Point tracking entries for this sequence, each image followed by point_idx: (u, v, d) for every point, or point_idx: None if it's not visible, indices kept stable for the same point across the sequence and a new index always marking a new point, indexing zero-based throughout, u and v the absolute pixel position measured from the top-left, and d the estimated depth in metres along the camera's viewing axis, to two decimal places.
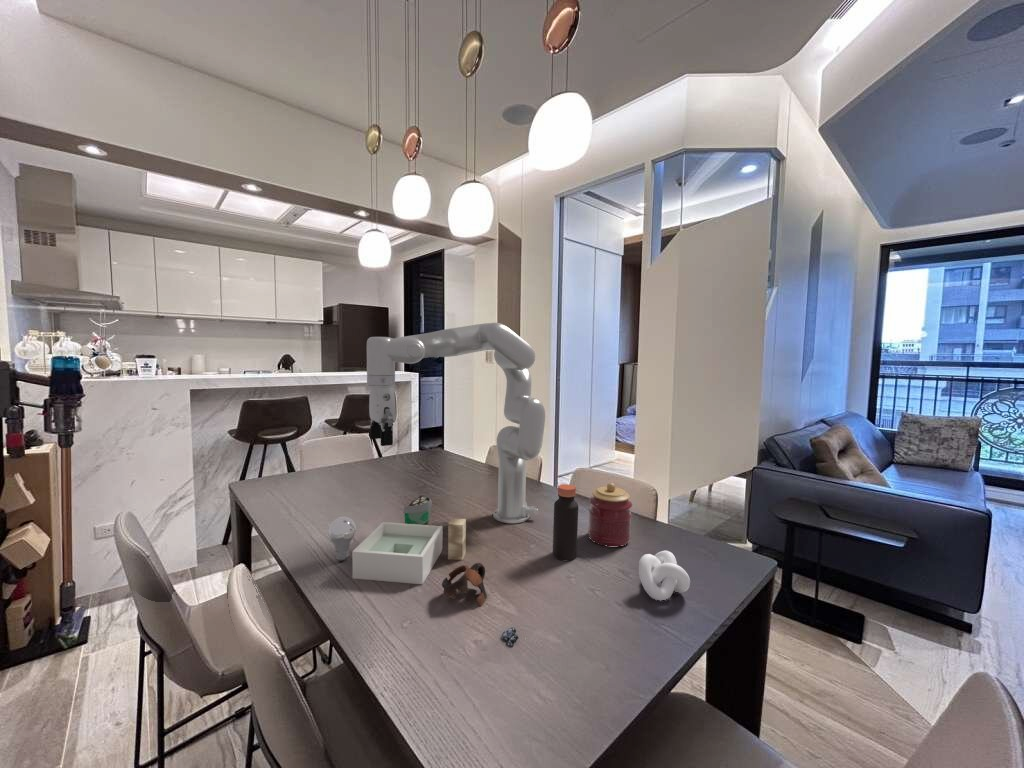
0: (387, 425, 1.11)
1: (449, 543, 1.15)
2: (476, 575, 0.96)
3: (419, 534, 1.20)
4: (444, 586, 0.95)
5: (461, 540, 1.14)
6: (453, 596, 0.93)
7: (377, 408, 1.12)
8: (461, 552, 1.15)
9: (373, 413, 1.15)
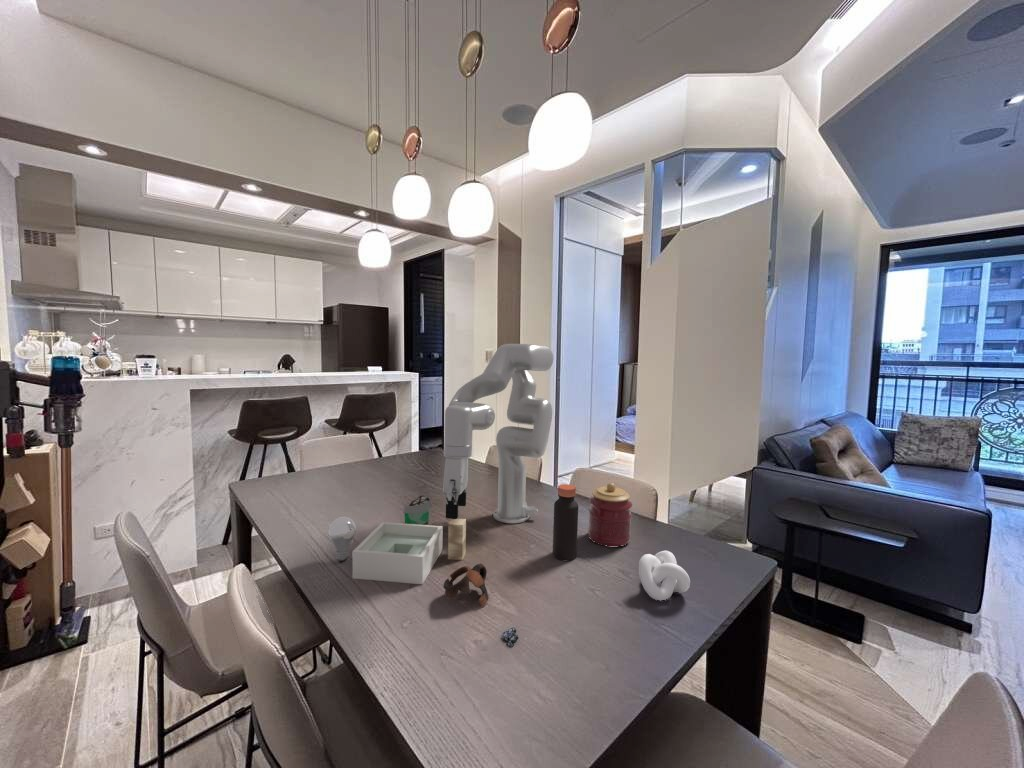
0: None
1: (449, 543, 1.15)
2: (478, 576, 0.96)
3: (419, 534, 1.20)
4: (446, 587, 0.94)
5: (461, 540, 1.14)
6: (455, 597, 0.92)
7: None
8: (461, 552, 1.15)
9: (465, 482, 1.15)
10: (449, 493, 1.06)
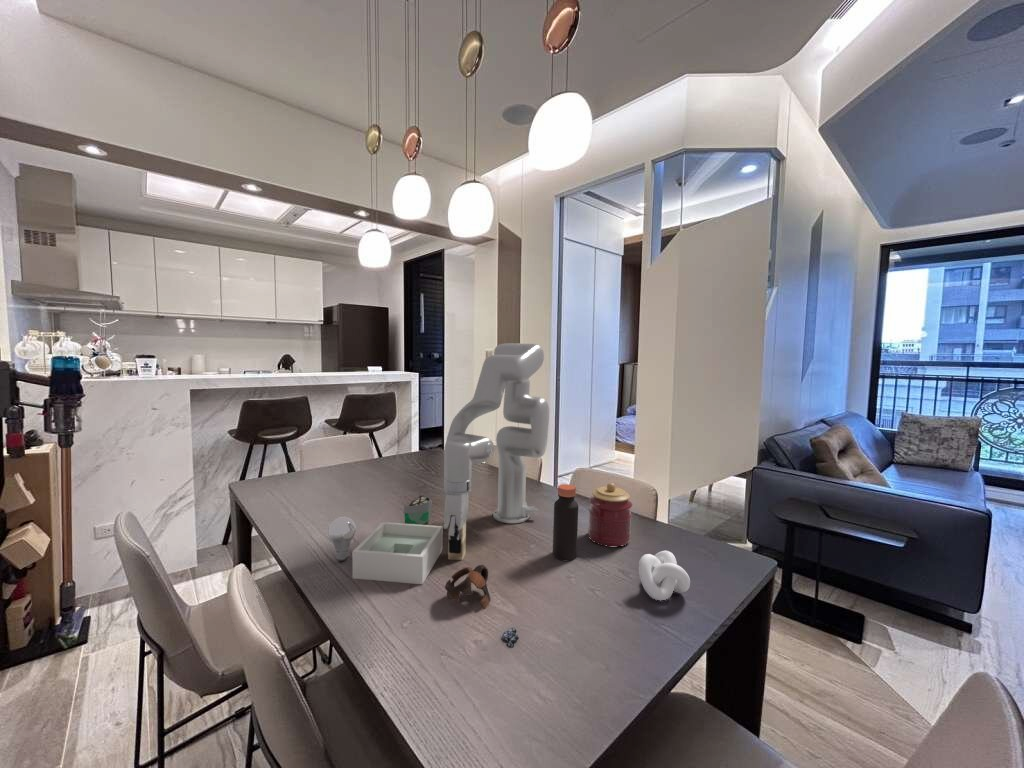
0: None
1: None
2: (480, 577, 0.96)
3: (419, 534, 1.20)
4: (447, 589, 0.94)
5: (461, 540, 1.14)
6: (457, 599, 0.92)
7: None
8: (461, 552, 1.15)
9: (466, 515, 1.16)
10: (451, 535, 1.09)
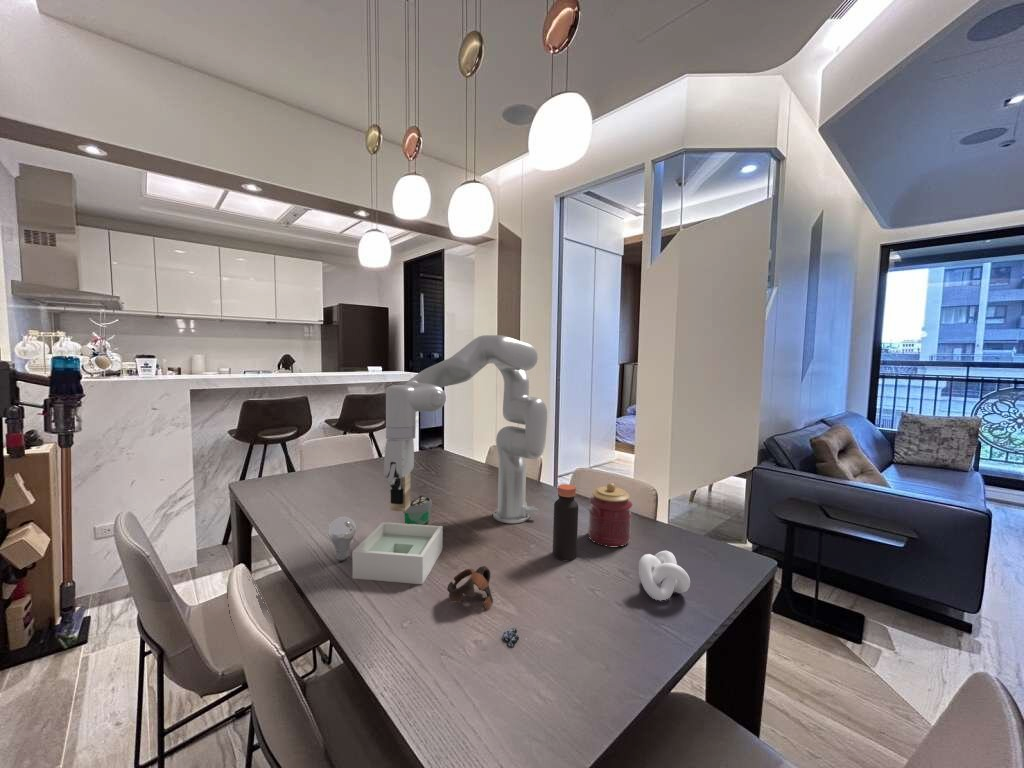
0: None
1: None
2: (482, 579, 0.95)
3: (419, 534, 1.20)
4: (450, 590, 0.93)
5: (403, 490, 1.08)
6: (459, 601, 0.91)
7: (413, 455, 1.14)
8: (404, 503, 1.09)
9: (409, 465, 1.10)
10: (391, 483, 1.04)
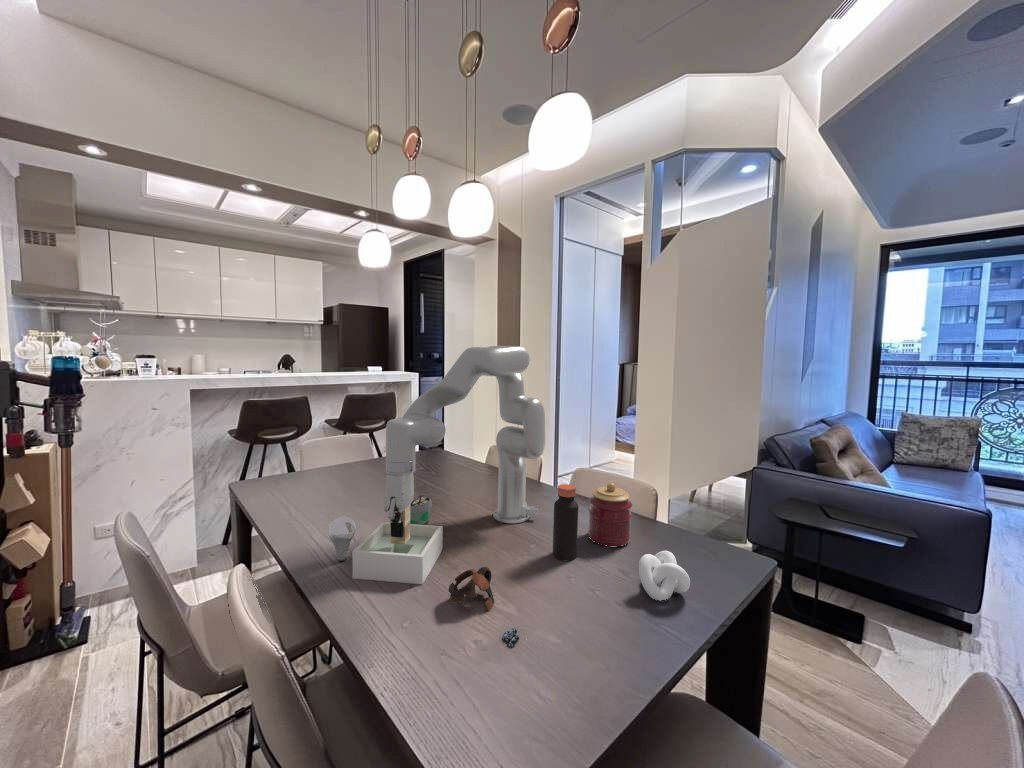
0: None
1: None
2: (483, 579, 0.95)
3: (419, 534, 1.20)
4: (451, 591, 0.93)
5: (403, 523, 1.09)
6: (461, 602, 0.91)
7: (413, 487, 1.14)
8: (403, 536, 1.09)
9: (409, 498, 1.11)
10: (391, 518, 1.04)
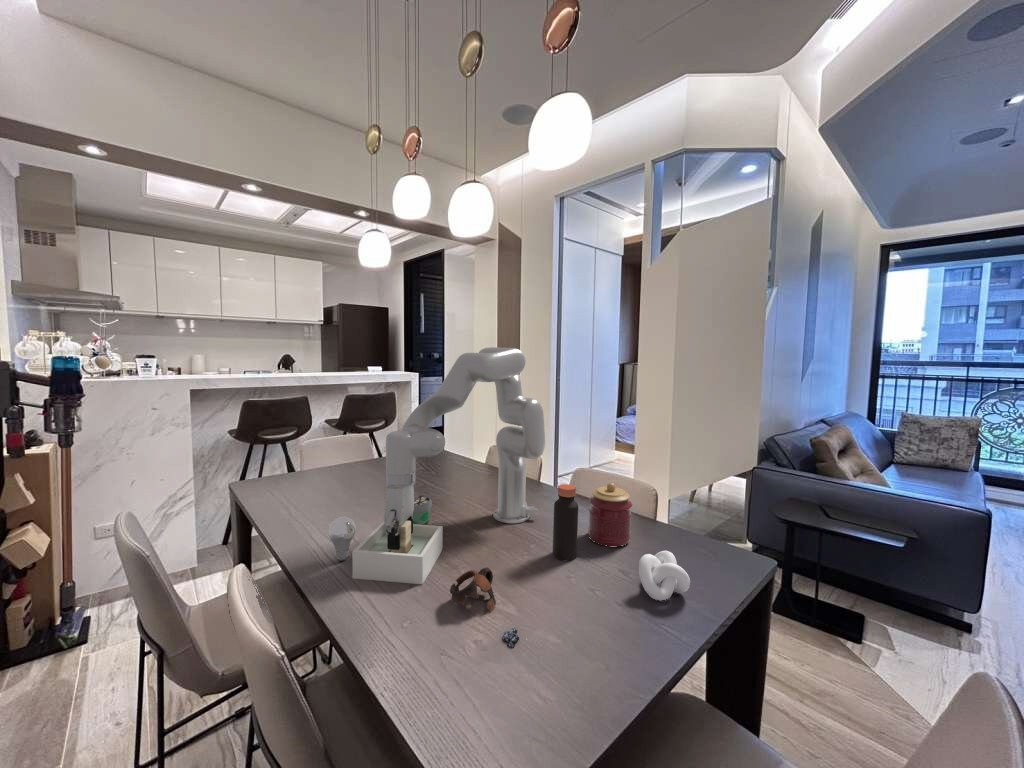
0: None
1: None
2: (485, 580, 0.94)
3: (419, 534, 1.20)
4: (453, 593, 0.92)
5: (404, 543, 1.10)
6: (462, 603, 0.90)
7: (413, 498, 1.15)
8: None
9: (409, 510, 1.11)
10: (388, 525, 1.03)
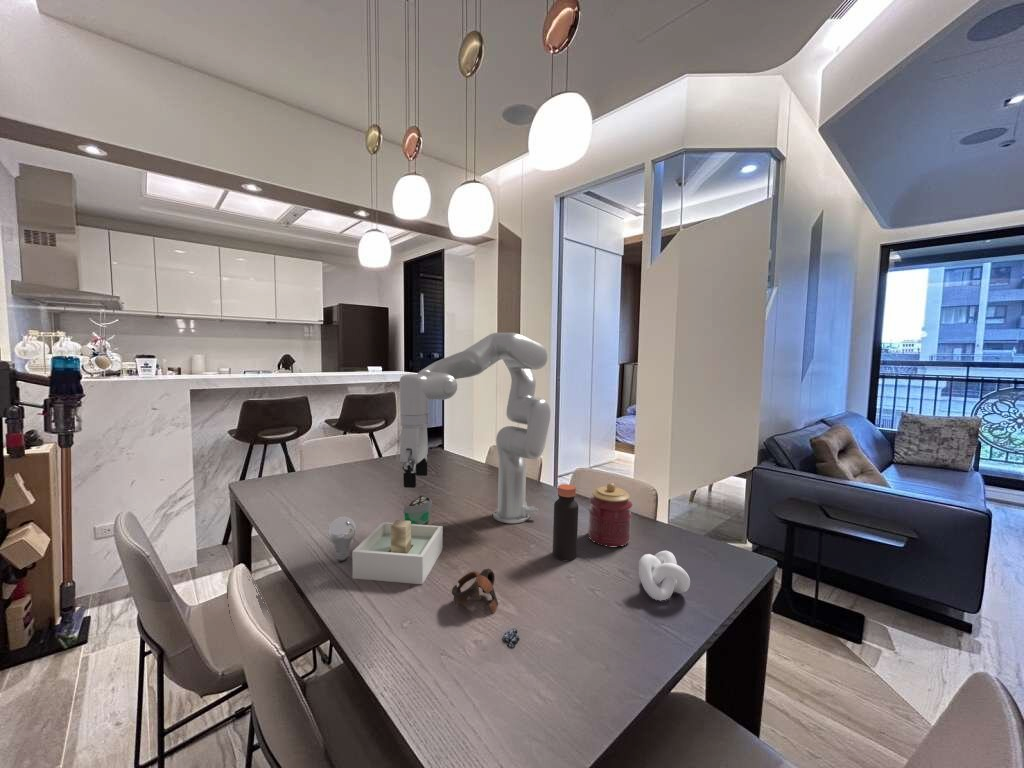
0: None
1: (392, 546, 1.10)
2: (487, 582, 0.94)
3: (419, 534, 1.20)
4: (455, 594, 0.92)
5: (404, 543, 1.10)
6: (465, 604, 0.90)
7: (427, 441, 1.18)
8: None
9: (424, 451, 1.14)
10: (404, 462, 1.06)
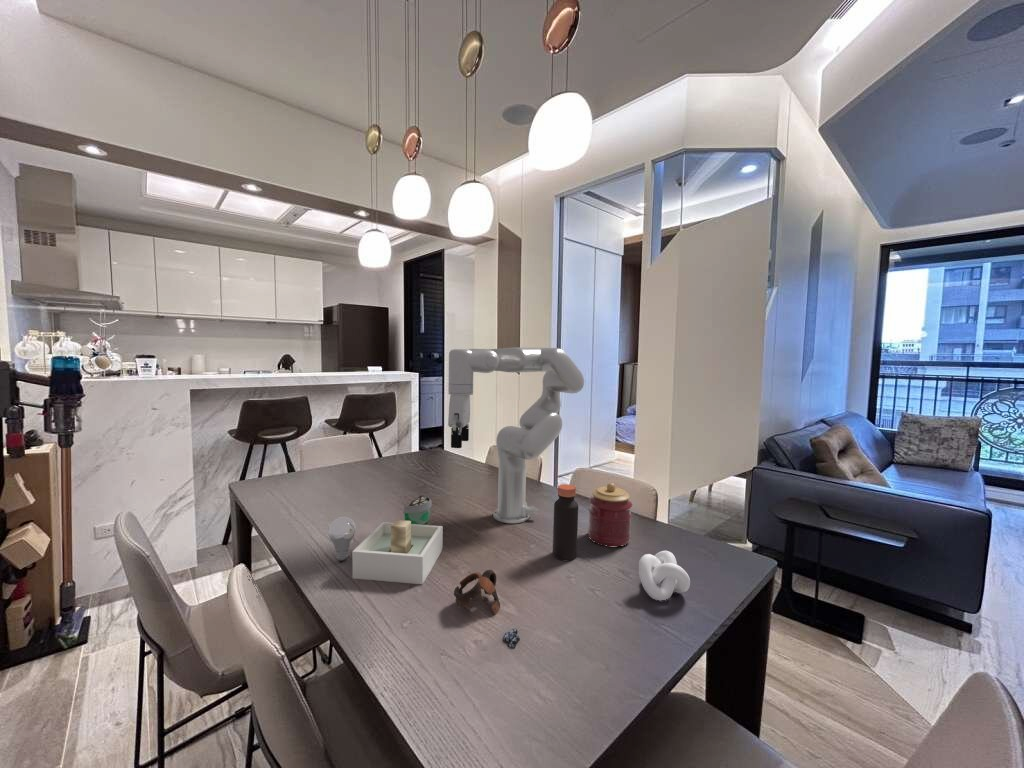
0: None
1: (392, 546, 1.10)
2: (489, 583, 0.93)
3: (419, 534, 1.20)
4: (457, 595, 0.91)
5: (404, 543, 1.10)
6: (467, 606, 0.89)
7: None
8: None
9: (468, 417, 1.29)
10: (454, 424, 1.21)
